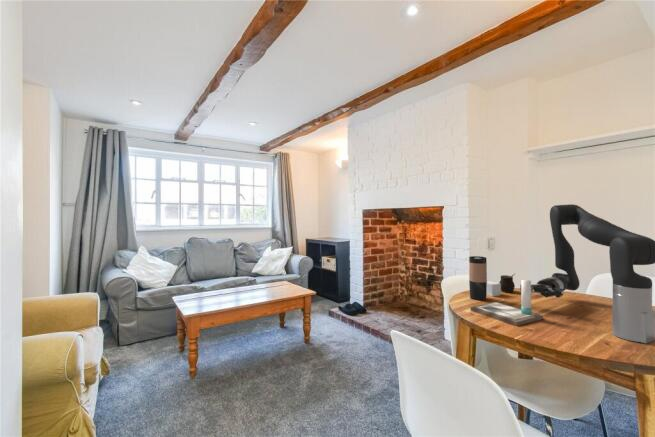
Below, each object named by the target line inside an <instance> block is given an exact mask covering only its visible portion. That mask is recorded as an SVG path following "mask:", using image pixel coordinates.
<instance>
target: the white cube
mask: <svg viewBox="0 0 655 437" xmlns="http://www.w3.org/2000/svg"><path fill="white" fill-rule="evenodd" d="M501 292H502V291H501V283H499V282H496V281H492V280H487V293H486V296H490V297H499V296H501V295H502V294H501Z"/></svg>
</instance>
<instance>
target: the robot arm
mask: <svg viewBox="0 0 655 437" xmlns="http://www.w3.org/2000/svg"><path fill="white" fill-rule="evenodd" d="M549 220H550V221H549V222H550V227H551V233H552V237H553V238H552V239H553V244H554V256H555V257H554V262H555V263H554V264H555V267H556V268H557V270H558V269H559V270H562V271H564V272H565V273H560V272H555V273H553V274H552V275H551V277H546V278H543V279H541V280H538V282H536V283H534V284H532V283H531V294H539V295H540V296H543V297H544V298H553V297H555V298H557V299H558V298H560V297H562V296H564V291H566V290H569V291H576V290H578V289H579V288H580V284H581V283H580V279H579V276H578V274H577V271H576V268H575V251H574V248H573V247H572V245H571V243H570V242H569V241H568V239H567V238H566V236H565V235H564V232H563V228H562V226H567V225H573V226H574V225H576V226H577V230H578V233H579V234H580V235H581V236H582V237H583V238H585V240H588V241H590V242H591V243H594V244H597V245H601V246H605V247H609V264H610V274H611V278H612V316H611V317H612V319H611V320H612V326H611V327H612V335H614V337H618V338H620V339H623V340H627V341H631V342H636V343H642V344H648V343H651V342H654V341H655V310H653V280H652V278H650V277H647V276H645V275H641V274H639V273H637V272H635V270H634V266H649V265H654V264H655V240H654V239H652V238H650V237H648V236H645V235H641V234H639V233H635V232H632V231H629V230H628V229H626V228H623V227H620V226H619V225H616V224H613V223H612V222H609V221H608V220H605V219H603V218H601V217H598V216H596V215H595V214H592V213H590V212H588V211H587V210H585V209H584V208H583V207H581V206H580V205H577V204H574V203H573V204H556V205H553V206H552V207H551V208H550V210H549ZM519 286H520V288H519V290H520V291H521V284H519Z"/></svg>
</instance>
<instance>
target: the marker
mask: <svg viewBox="0 0 655 437" xmlns="http://www.w3.org/2000/svg"><path fill="white" fill-rule="evenodd" d="M520 283H521V284H520V285H521V290H520V293H521V295H520V297H521V298H520V300H521V301H520V302H521V304H520V309H521V313H522V314H526V315H531V312H532V293H531V284H532V280H529V279H521V281H520Z"/></svg>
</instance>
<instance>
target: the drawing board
mask: <svg viewBox="0 0 655 437" xmlns="http://www.w3.org/2000/svg"><path fill="white" fill-rule="evenodd" d="M470 311H471V312H474V313H477V314H479V315H483V316H486V317H489V318H492V319H494V320H496V321H497V320H498V321H499V322H503V323H506V324H510V325H512V326H515V327H518V326H521V325H522V326H523V325H525V324H529V323H534V322H537V321H541V320H544V315H543V314H541V313H536V312H533V311H531V315H526V314H522V313H521V308H519V307H517V306H512V305H509V304H505V303H502V302H499V301H494V302H489V303H484V304H478V305H474V306H470Z"/></svg>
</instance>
